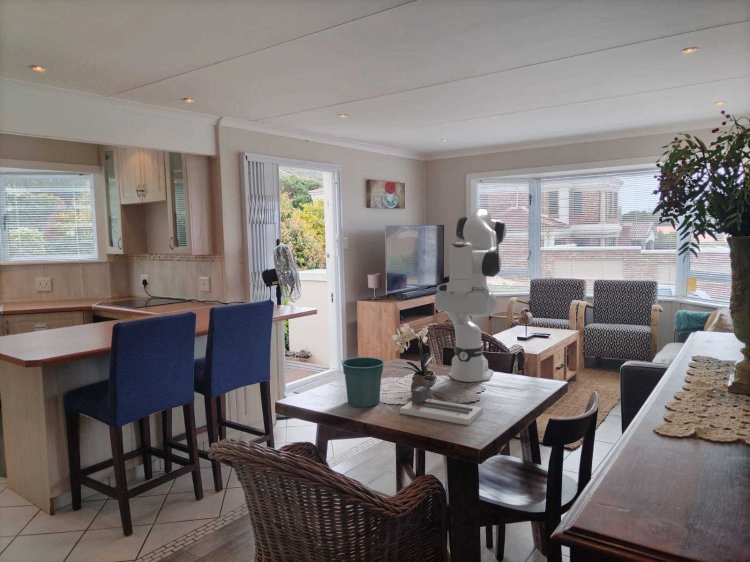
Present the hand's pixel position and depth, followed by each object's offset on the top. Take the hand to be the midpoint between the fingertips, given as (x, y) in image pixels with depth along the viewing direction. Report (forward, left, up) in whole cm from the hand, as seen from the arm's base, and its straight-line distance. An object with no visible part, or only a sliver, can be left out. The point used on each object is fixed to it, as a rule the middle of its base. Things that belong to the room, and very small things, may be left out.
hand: (461, 324), depth 197 cm
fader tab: (+10, -13, -29) cm, 33 cm away
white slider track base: (+10, -4, -31) cm, 33 cm away
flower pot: (+13, -35, -31) cm, 49 cm away
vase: (-3, -19, -31) cm, 37 cm away
